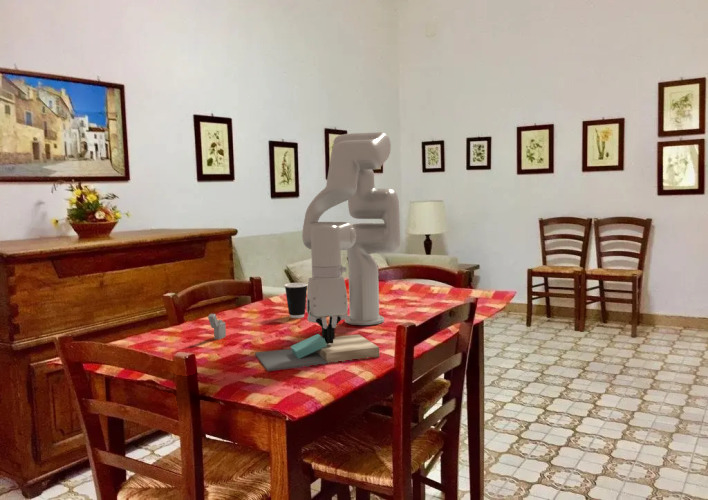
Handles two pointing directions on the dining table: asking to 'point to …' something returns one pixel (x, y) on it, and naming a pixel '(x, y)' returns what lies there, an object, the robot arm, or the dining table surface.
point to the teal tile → (308, 346)
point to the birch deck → (348, 349)
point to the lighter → (217, 327)
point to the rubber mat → (287, 359)
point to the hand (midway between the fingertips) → (328, 342)
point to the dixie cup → (296, 299)
